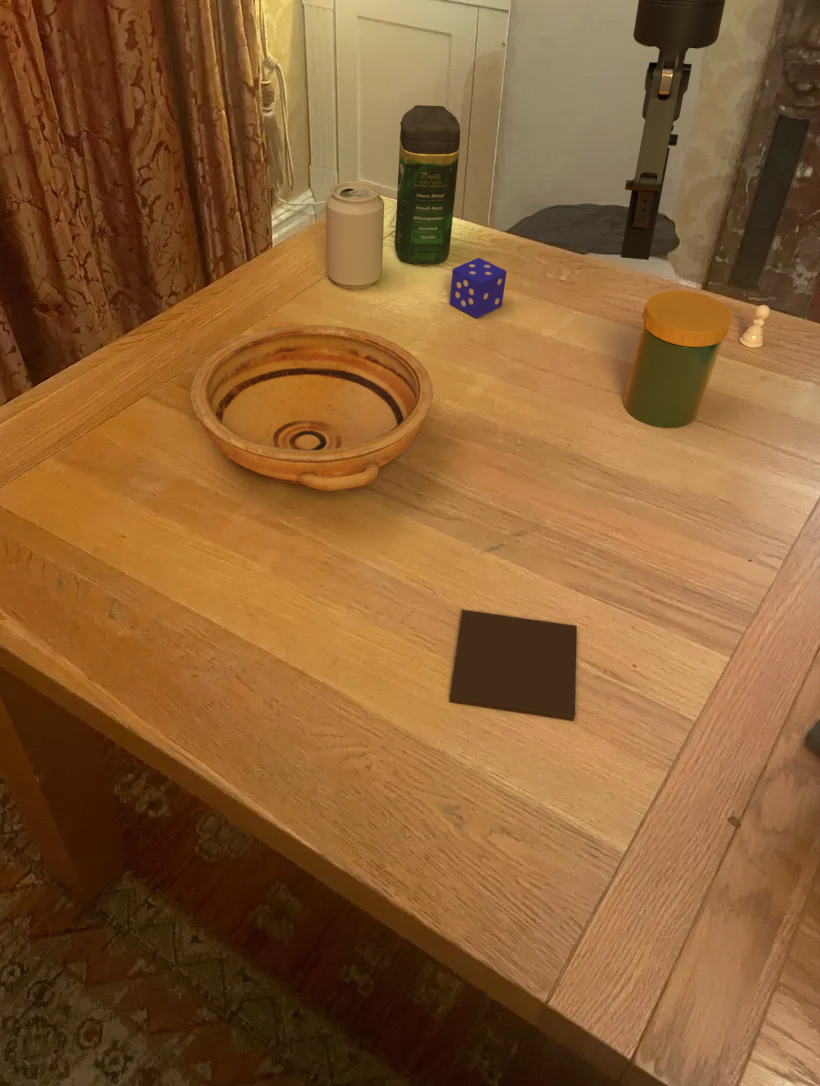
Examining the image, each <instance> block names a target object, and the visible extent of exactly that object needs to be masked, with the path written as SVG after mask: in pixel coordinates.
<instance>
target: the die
mask: <svg viewBox="0 0 820 1086" xmlns="http://www.w3.org/2000/svg"><path fill="white" fill-rule="evenodd" d="M506 279H507V270H506V269H504V268H502V267H499V266H497V265H495V264H493V263H491V262H490V261H487V260H484V259H482V258H480V257H477V258H474V259H472V260H470V261H467V262H464V264H460V265H458V266H455V267H454V268H452V273H451V283H450V295H449V305H450V306H452V307H453V308H455V309H457V310H459V311H461V312H464V313H465V314H467V315H469V316H471V317H473V318H475V319H478V318H479V319H480V317H483V316H485V315H487V314H490V313H491V312H493V311H495V310H498V309H499V308H501V307H503V302H504V301H503V300H504V295H505V294H504V293H505V287H506Z"/></svg>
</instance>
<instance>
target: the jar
mask: <svg viewBox="0 0 820 1086" xmlns="http://www.w3.org/2000/svg"><path fill="white" fill-rule="evenodd" d="M723 341H724V339H723V340H722V341H721V342H719V343H717V344H714V345H710V346H704V347H689V346H681V345H676V344H673V343H669V342H666V341H664V340H662V339H659V338H658V337H656V336H654V335H653V334H651V333H650V332H649V331H648V330H647V329H646V328H645V326H644V324H643V323H642V327H641V330H640V336H639V338H638V342H637V346H636V350H635V353H634V358H633V361H632V365H631V369H630V372H629V377H628V381H627V383H626V384H627V385H626V388H625V391H624V396H623V402H622V403H623V406H624V409H625V411H626V412H627V413H628V414H629V415H630V416H631V417H633V419H636V420H637V421H639V422H641V423H644V424H646V425H650V426H653V427H658V428H664V429H665V428H666V429H676V428H682V427H686V426H688V425H690V424H691V423H693V422H694V421H696V419H697V417H698V415H699V413H700V409H701V406H702V403H703V400H704V397H705V394H706V391H707V389H708V386H709V382H710V379H711V376H712V373H713V370H714V369H715V368H714V367H715V364H716V361H717V359H718V356H719V352H720V349H721V347H722V344H723Z"/></svg>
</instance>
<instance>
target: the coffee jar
mask: <svg viewBox="0 0 820 1086" xmlns="http://www.w3.org/2000/svg"><path fill="white" fill-rule="evenodd" d="M399 124H400V133H399V149H398V150H399V151H398V152H399V153H398V156H399V157H398V174H397V191H396V209H395V226H394V228H395V229H394V249H395V253H396V256H397V258H399V259H400V260H401V261H403V262H408V263H411V264H415V265H417V266H430V265H434V264H438V263H442V262H443V263H444V262H445V261H446V260H447V259H448V258H449V256H450V248H451V240H452V229H453V221H454V220H453V218H454V210H455V200H456V192H457V182H458V170H459V156H460V145H461V144H460V143H461V126H460V123H459V120H458V118H457V117H456V116H455V115H454V114H453V113H452V112H451V111H449V110H448V109H446V107H445V106H443V105H425V104H424V105H423V104H422V105H421V104H417V105H413V107H412V108H411V109H409V110H408V111H406V112H405V113H403V116H402V117H401V121H400V123H399Z"/></svg>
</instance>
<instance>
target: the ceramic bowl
mask: <svg viewBox="0 0 820 1086" xmlns="http://www.w3.org/2000/svg"><path fill="white" fill-rule="evenodd" d="M433 390H434V389H433V382H432V379H431V378H430V375H429V371H427V370H426V368H425V366H424V365H423V364H422V362H420V360H419V359H417V358H416V357H415V356H414V354H412V353H411V352H410V351H408V350H407V349H405V348H404V347H402V346H400V345H399V344H397V343H396V342H393V341H391V340H389V339H386V338H384V337H383V336H379V335H376V334H373V333H371V332H366V331H364V330H360V329H359V330H358V329H355V328H349V327H343V326H335V325H325V324H324V325H314V324H304V323H300V322H291V321H290V322H289V321H288V322H287V321H286V322H285V321H284V322H281V323H276V324H274V325H271V326H269V327H267V328H266V329H265V330H263V331H258V332H256V333H252V334H249V335H246V336H244V337H241V338H238V339H236V340H234V341H233V342H230V343H228V344H227V345H224V346H223V347H221V348H220V349H218V350H217V351H216V352H214V353H213V354H212V355H211V356H209V357H208V358H207V359H206V361H205V362H203V363H202V365H201V366H200V367H199V369H198V371H197V372H196V374H195V376H194V378H193V380H192V384H191V388H190V398H191V399H190V400H191V404H192V407H193V409H194V412H195V414H196V416H197V418H198V419H199V420H200V423H201V425H202V427H203V430H204V431H205V433H206V435H207V436H208V438H209V439H210V440H211V441H212V443H213V444H214V445H215V446H216V448H217V449H218V450H219V451H220V452H221V453H222V454H223V455H224V456H226V457H227V458H228V459H229V460H231V462H233V463H235V464H237V465H238V466H240V467H241V468H243V469H245V470H247V471H249V472H251V473H253V474H255V475H258V476H261V477H264V478H266V479H270V480H274V481H279V482H282V483H288V484H298V485H305V486H307V487H309V488H310V489H314V490H317V491H318V490H319V491H326V492H333V491H341V490H347V489H355V488H361V487H363V486H366V485H369V484H371V483H372V482H373V481H375V480H376V479H377V477H378V476H379V473H380V469H381V468H383V467H385V466H387V465H388V464H390V463H391V462H392V461H393V460H395V459H396V458H398V457H399V456H401V455H402V454H403V452H404V451H405V450H406V449H407V448H408V447H409V446H410V445H411V444H412V442H413V441H414V440H415V438H416V437H417V435H418V433H419V432H420V429H421V428H422V425H423V424H424V421H425V419H426V416H427V414H428V412H429V411H430V409H431V407H432V401H433V397H434V391H433Z"/></svg>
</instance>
